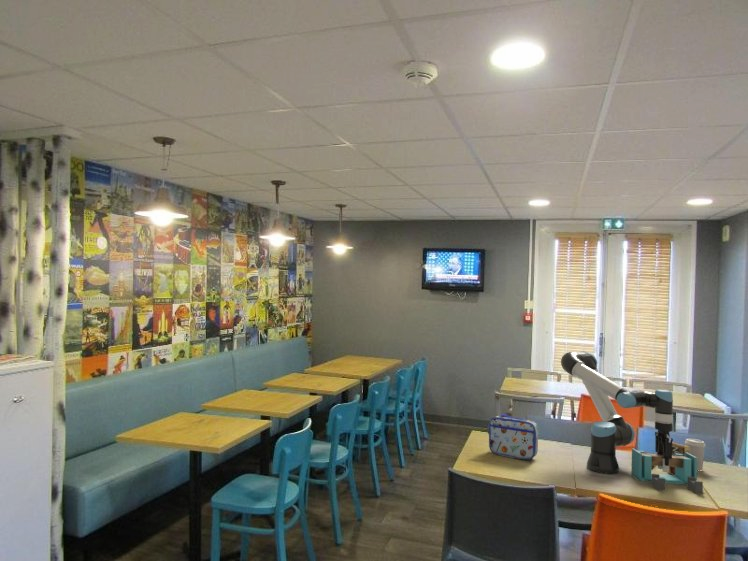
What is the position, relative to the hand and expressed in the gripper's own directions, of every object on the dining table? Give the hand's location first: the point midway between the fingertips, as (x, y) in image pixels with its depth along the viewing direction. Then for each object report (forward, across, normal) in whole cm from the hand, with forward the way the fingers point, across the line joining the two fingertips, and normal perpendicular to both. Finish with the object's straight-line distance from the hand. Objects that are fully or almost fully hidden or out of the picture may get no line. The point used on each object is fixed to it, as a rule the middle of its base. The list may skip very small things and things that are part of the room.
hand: (663, 470), depth 241 cm
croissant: (+5, +26, -2) cm, 27 cm away
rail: (-2, 0, 0) cm, 2 cm away
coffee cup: (+5, +23, -26) cm, 35 cm away
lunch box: (+5, +22, +69) cm, 73 cm away
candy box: (+5, +11, -12) cm, 17 cm away
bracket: (+5, 0, 0) cm, 5 cm away
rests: (+5, -13, 0) cm, 14 cm away
